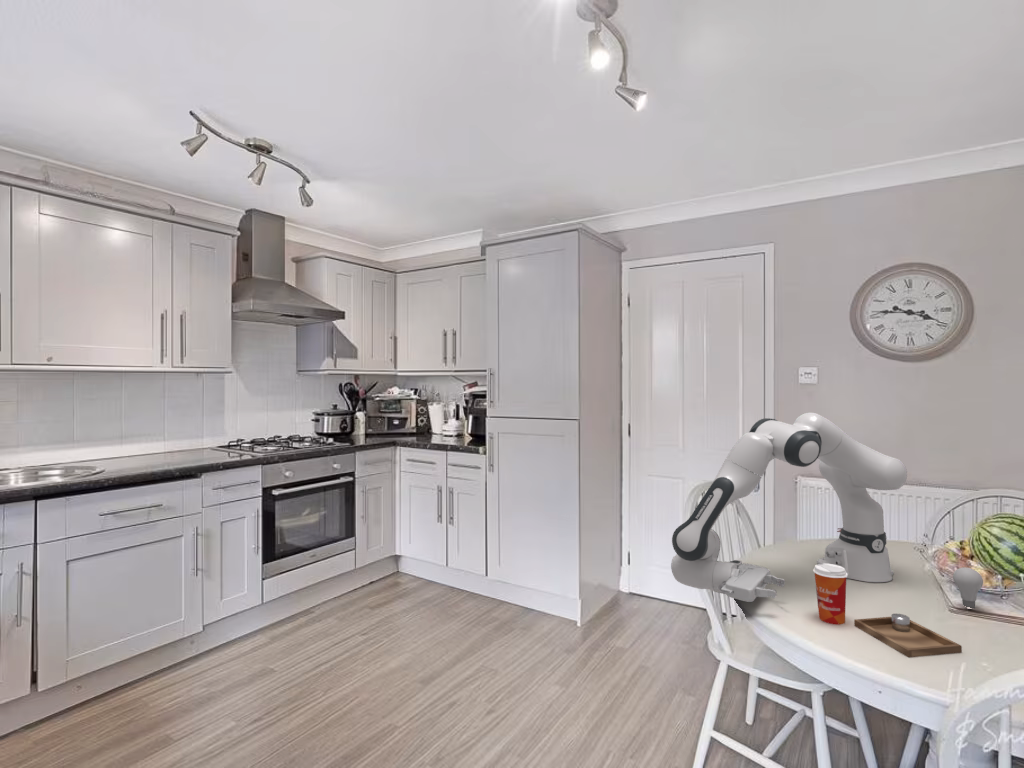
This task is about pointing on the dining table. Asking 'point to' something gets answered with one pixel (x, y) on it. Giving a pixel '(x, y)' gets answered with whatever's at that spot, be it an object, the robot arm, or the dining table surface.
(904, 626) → the part
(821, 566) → the paper cup
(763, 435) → the robot arm
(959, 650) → the tray
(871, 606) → the dining table surface
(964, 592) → the lightbulb
